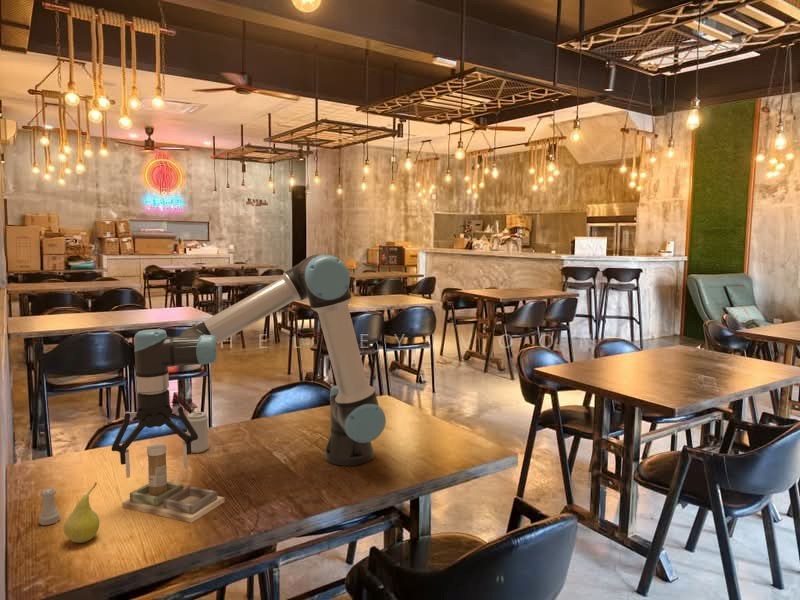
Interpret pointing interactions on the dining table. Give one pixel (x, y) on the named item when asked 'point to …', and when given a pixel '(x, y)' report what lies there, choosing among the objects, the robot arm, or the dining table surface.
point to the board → (175, 502)
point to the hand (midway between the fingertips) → (157, 471)
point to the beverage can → (199, 431)
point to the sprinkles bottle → (157, 469)
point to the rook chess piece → (48, 507)
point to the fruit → (82, 521)
